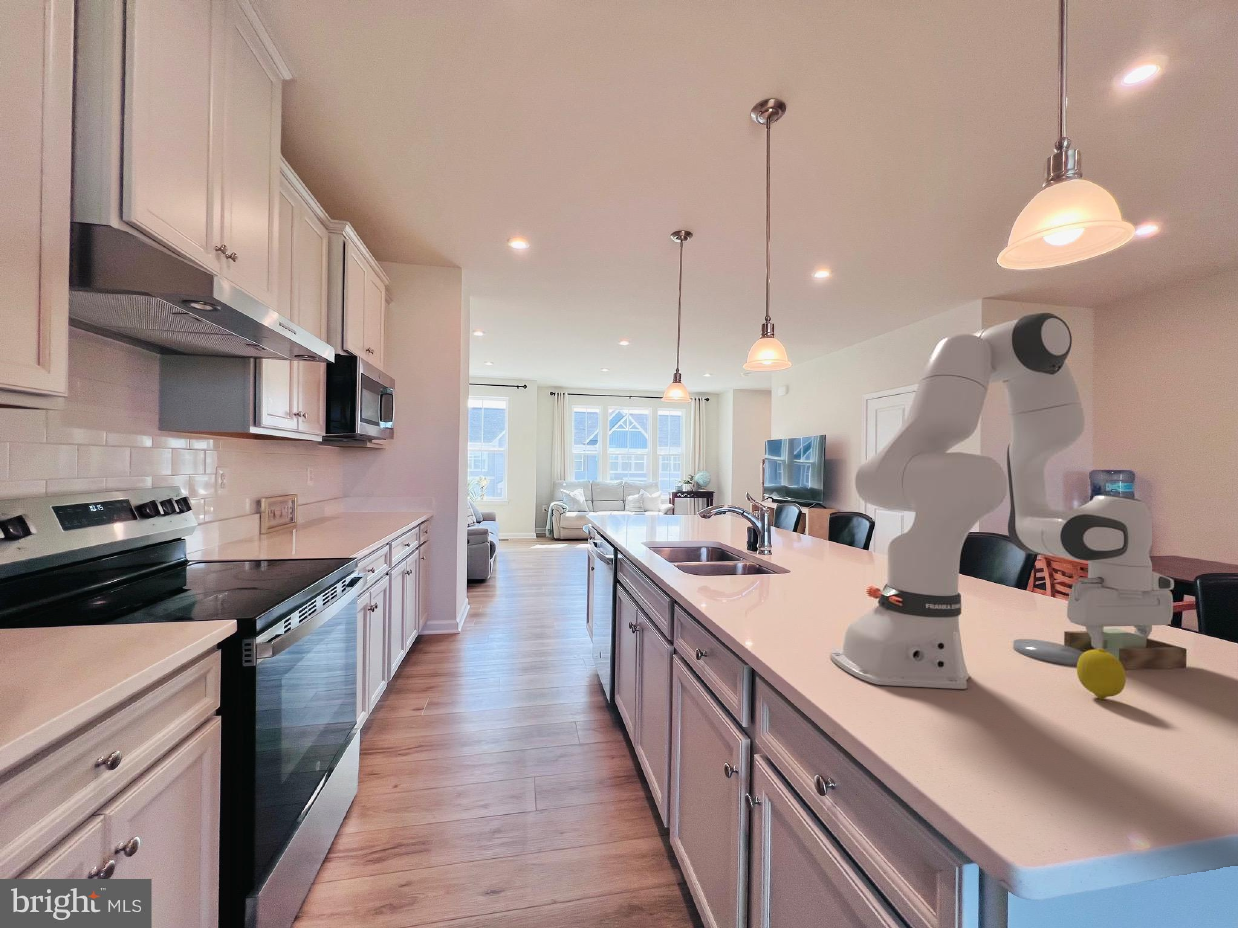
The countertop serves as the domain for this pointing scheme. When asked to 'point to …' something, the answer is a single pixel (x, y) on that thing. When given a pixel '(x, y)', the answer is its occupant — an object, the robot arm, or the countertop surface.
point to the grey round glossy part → (1047, 651)
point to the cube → (1121, 641)
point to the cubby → (1136, 652)
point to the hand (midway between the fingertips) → (1118, 647)
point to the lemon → (1101, 673)
